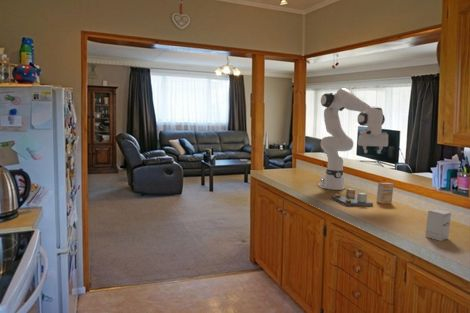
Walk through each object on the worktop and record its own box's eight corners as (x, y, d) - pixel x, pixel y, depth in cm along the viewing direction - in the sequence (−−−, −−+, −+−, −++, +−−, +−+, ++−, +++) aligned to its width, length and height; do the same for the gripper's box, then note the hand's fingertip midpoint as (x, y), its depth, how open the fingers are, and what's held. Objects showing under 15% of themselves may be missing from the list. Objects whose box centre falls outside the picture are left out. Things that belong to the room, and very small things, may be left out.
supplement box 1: (380, 204, 246) (382, 183, 245) (376, 202, 251) (378, 182, 250) (392, 203, 249) (394, 183, 247) (387, 202, 253) (389, 182, 252)
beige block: (346, 196, 256) (346, 188, 255) (351, 196, 257) (352, 188, 256) (349, 197, 252) (349, 189, 251) (354, 197, 253) (355, 189, 252)
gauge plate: (331, 198, 255) (331, 192, 254) (356, 198, 259) (356, 192, 258) (345, 206, 235) (346, 199, 235) (372, 206, 239) (373, 199, 239)
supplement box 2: (440, 241, 175) (443, 214, 174) (424, 236, 181) (427, 210, 180) (448, 239, 179) (451, 212, 178) (432, 234, 185) (435, 208, 184)
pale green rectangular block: (357, 200, 242) (357, 192, 242) (362, 200, 243) (363, 192, 242) (360, 202, 238) (361, 194, 238) (366, 202, 239) (367, 194, 239)
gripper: (385, 132, 258) (383, 153, 259) (357, 131, 253) (355, 152, 255) (391, 132, 251) (389, 154, 253) (362, 131, 247) (360, 153, 249)
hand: (372, 153), depth 254 cm, fingers open, 8 cm apart
